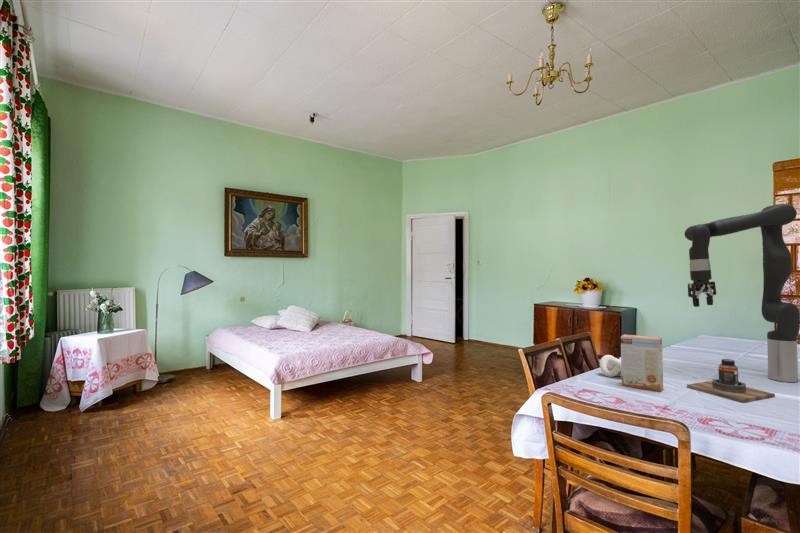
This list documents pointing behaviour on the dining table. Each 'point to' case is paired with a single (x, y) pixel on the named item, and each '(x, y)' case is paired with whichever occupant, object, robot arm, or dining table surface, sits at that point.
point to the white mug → (610, 366)
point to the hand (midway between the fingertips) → (703, 305)
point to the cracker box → (642, 362)
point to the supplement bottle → (728, 372)
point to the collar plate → (730, 395)
